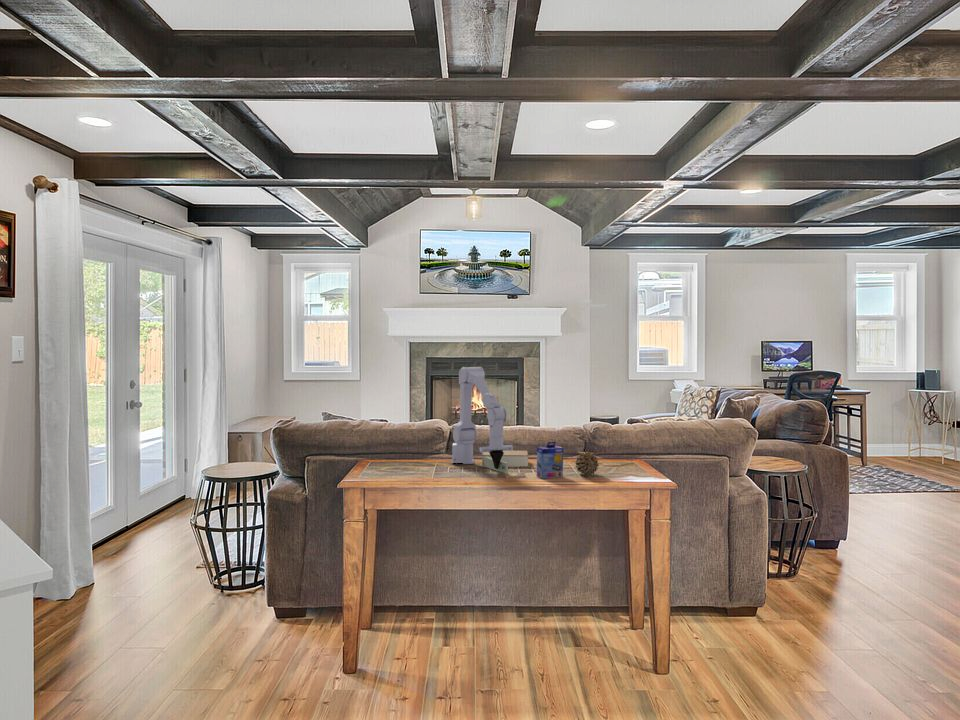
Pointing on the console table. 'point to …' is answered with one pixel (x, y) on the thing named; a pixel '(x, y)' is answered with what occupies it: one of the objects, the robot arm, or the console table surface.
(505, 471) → the door
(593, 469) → the pine cone
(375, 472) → the console table surface
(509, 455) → the beige flat box
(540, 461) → the ink cartridge box
